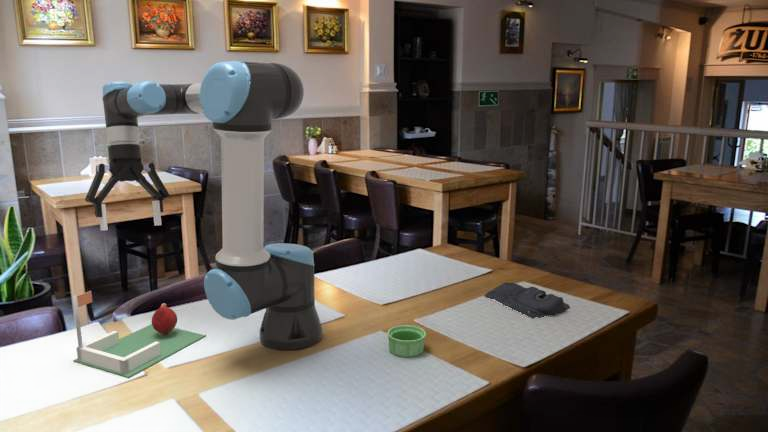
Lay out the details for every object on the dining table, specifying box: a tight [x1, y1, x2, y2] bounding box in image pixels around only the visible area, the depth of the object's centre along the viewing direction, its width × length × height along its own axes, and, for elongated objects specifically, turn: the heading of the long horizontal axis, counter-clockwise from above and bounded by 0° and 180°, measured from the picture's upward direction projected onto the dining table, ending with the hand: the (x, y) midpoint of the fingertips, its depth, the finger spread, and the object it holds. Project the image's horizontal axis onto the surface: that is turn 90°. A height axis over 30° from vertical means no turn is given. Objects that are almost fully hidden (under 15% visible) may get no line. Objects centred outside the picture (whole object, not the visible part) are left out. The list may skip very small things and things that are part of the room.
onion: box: [151, 302, 178, 335], centre depth 140 cm, size 6×6×8 cm
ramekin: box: [386, 324, 427, 358], centre depth 134 cm, size 9×9×4 cm
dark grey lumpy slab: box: [483, 282, 571, 319], centre depth 165 cm, size 15×22×5 cm
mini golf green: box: [72, 290, 161, 374], centre depth 128 cm, size 14×10×15 cm
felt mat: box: [73, 323, 206, 379], centre depth 134 cm, size 17×23×1 cm
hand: (131, 228), depth 147 cm, fingers open, 13 cm apart
